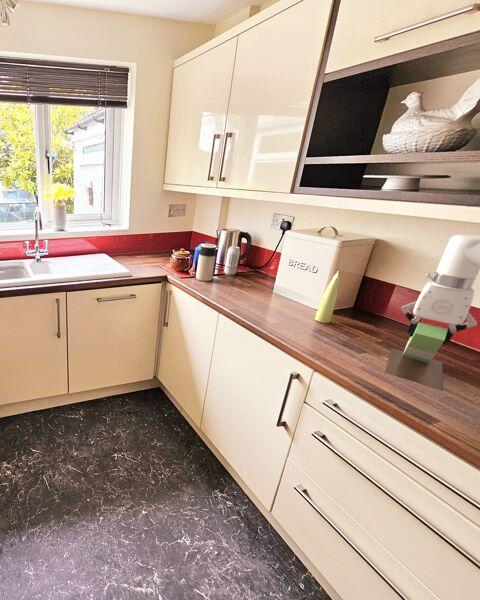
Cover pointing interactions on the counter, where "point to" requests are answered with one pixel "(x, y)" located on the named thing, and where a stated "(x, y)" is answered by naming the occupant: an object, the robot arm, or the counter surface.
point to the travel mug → (206, 262)
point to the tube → (328, 301)
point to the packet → (425, 342)
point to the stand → (415, 369)
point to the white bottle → (232, 260)
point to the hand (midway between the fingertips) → (426, 338)
